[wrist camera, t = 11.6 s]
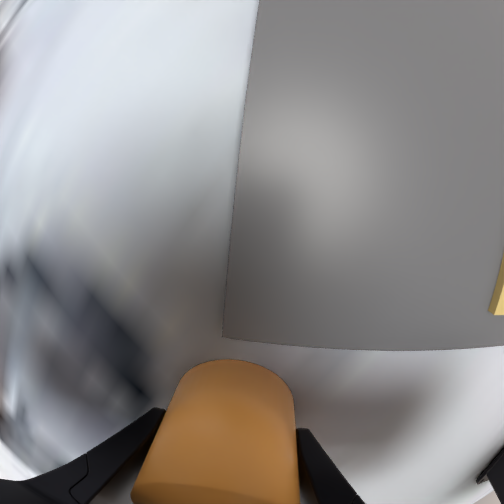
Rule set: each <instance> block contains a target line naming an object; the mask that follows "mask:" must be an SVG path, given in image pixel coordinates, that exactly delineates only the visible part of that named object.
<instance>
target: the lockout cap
mask: <svg viewBox="0 0 504 504" xmlns="http://www.w3.org/2000/svg"><path fill="white" fill-rule="evenodd" d="M130 497H131V500H132V502H133V503H134V504H300V489H299V471H298V455H297V439H296V425H295V412H294V400H293V396H292V393H291V391H290V389H289V387H288V386H287V384H286V383H285V382H284V381H283V380H282V379H281V378H280V377H279V376H278V375H276V374H275V373H273V372H272V371H270V370H268V369H266V368H264V367H262V366H260V365H257V364H254V363H250V362H246V361H241V360H232V359H222V360H213V361H209V362H205V363H202V364H199V365H197V366H195V367H193V368H192V369H190V370H189V371H188V372H187V373H186V374H185V375H184V376H183V377H182V378H181V380H180V381H179V384H178V386H177V388H176V390H175V393H174V395H173V397H172V399H171V402H170V404H169V406H168V408H167V411H166V413H165V415H164V417H163V420H162V422H161V424H160V426H159V429H158V431H157V433H156V435H155V438H154V440H153V442H152V444H151V447H150V449H149V451H148V454H147V456H146V458H145V461H144V463H143V465H142V467H141V470H140V472H139V474H138V477H137V479H136V481H135V484H134V486H133V488H132V491H131V493H130Z"/></svg>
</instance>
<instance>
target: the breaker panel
mask: <svg viewBox="0 0 504 504" xmlns="http://www.w3.org/2000/svg"><path fill="white" fill-rule="evenodd" d="M222 337H224V338H231V339H238V340H246V341H254V342H262V343H271V344H281V345H291V346H303V347H315V348H330V349H349V350H380V351H421V350H451V349H468V348H482V347H493V346H503V345H504V0H259V7H258V14H257V20H256V27H255V34H254V41H253V48H252V56H251V63H250V70H249V78H248V86H247V93H246V101H245V109H244V118H243V126H242V134H241V143H240V152H239V161H238V170H237V179H236V188H235V198H234V207H233V217H232V228H231V238H230V249H229V259H228V270H227V282H226V294H225V306H224V318H223V331H222Z"/></svg>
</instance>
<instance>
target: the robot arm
mask: <svg viewBox="0 0 504 504" xmlns="http://www.w3.org/2000/svg"><path fill="white" fill-rule="evenodd" d="M165 413H166V410H164V409H161V408H157V407H155V408H153V409H151V410H150V411H148V412H147V413H145V414H144V415H143V416H141V417H140V418H138V419H137V420H135V421H134V422H132V423H131V424H130V425H128V426H127V427H125V428H124V429H122V430H121V431H119V432H118V433H116V434H115V435H113V436H112V437H110V438H108V439H107V440H105V441H104V442H102V443H101V444H99V445H98V446H96V447H94V448H93V449H91V450H90V451H88V452H87V454H86V453H85V454H83V455H81V456H80V457H78V458H76V459H75V460H73V461H71V462H69V463H67V464H65V465H63V466H61V467H59V468H57V469H54V470H52V471H49V472H47V473H44V474H42V475H39V476H37V477H34V478H31V479H28V480H23V481H12V480H5V479H0V504H134V503H133V502H132V500H131V497H130V493H131V491H132V488H133V486H134V484H135V481H136V479H137V477H138V474H139V472H140V470H141V467H142V465H143V463H144V461H145V458H146V456H147V454H148V451H149V449H150V447H151V444H152V442H153V440H154V438H155V435H156V433H157V431H158V429H159V426H160V424H161V422H162V420H163V417H164V415H165ZM296 439H297V455H298V471H299V489H300V504H365V503H364V501H363V500H362V499H361V498H360V496H359V495H356V494H357V493H356V492H355V490H354V489H353V488H352V486H351V485H350V484H349V483H348V481H347V480H346V479H345V477H344V476H343V475H342V474H341V472H340V471H339V470H338V468H337V467H336V466H335V464H334V463H333V462H332V460H331V459H330V458H329V456H328V455H327V454H326V452H325V451H324V450H323V448H322V447H321V445H320V444H319V443H318V441H317V440H316V439H315V437H314V436H313V434H312V433H311V432H310V430H309V429H307V428H297V429H296ZM487 480H489V481H490V483H491V485H492V487H493V489H494V491H495V493H496V495H497V497H498V498H499V500H500V502H501V504H504V449H503V450H502V451H501V452H500V454H499V455H498V456H497V457H496V458H495V460H494V461H493V462H492V463H491V464H490V465H489V466H488V468H487V469H486V470H485V471H484V472H483V473H482V474H481V475H480V476H479V477H478V479H477V480H476V483H477V484H480V483H482V482H484V481H487Z"/></svg>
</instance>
